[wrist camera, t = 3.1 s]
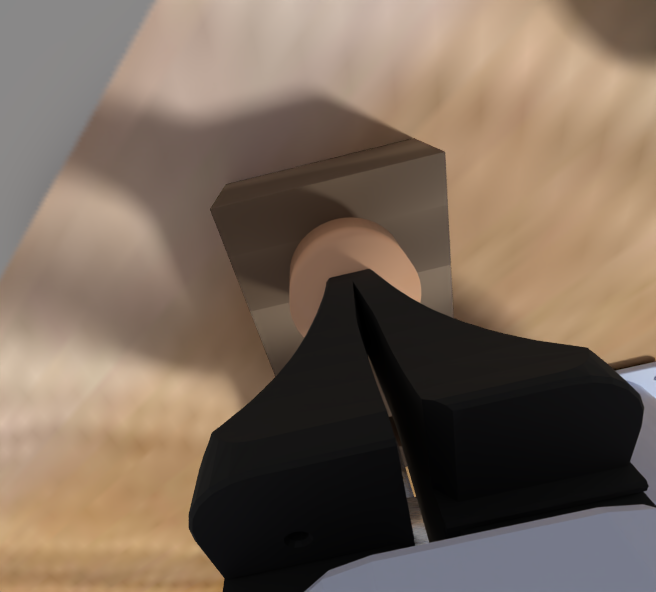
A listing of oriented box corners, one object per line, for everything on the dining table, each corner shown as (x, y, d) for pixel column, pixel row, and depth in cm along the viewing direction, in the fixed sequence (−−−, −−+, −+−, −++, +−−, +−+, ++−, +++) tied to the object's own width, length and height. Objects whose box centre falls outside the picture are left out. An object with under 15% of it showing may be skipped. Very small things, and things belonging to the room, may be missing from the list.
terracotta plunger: (385, 262, 17) (426, 339, 12) (302, 282, 17) (307, 366, 12) (372, 177, 15) (415, 225, 10) (278, 199, 15) (272, 259, 10)
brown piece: (438, 406, 23) (460, 454, 20) (314, 433, 23) (318, 485, 20) (414, 138, 15) (444, 151, 12) (225, 184, 15) (210, 209, 12)
